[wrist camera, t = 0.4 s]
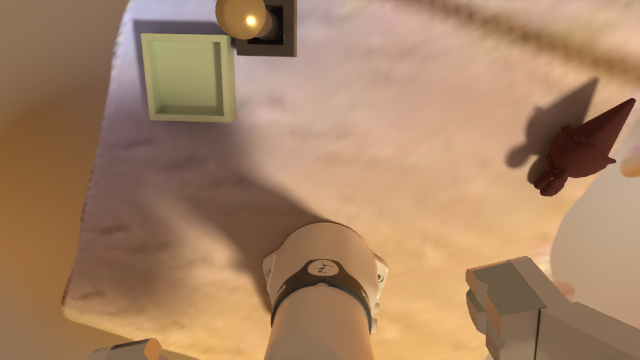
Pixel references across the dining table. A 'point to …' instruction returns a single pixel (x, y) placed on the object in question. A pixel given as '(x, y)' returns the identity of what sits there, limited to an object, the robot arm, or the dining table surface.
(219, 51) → the tray
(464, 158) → the dining table surface
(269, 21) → the lock pin
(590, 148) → the icecream
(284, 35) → the pin collar
